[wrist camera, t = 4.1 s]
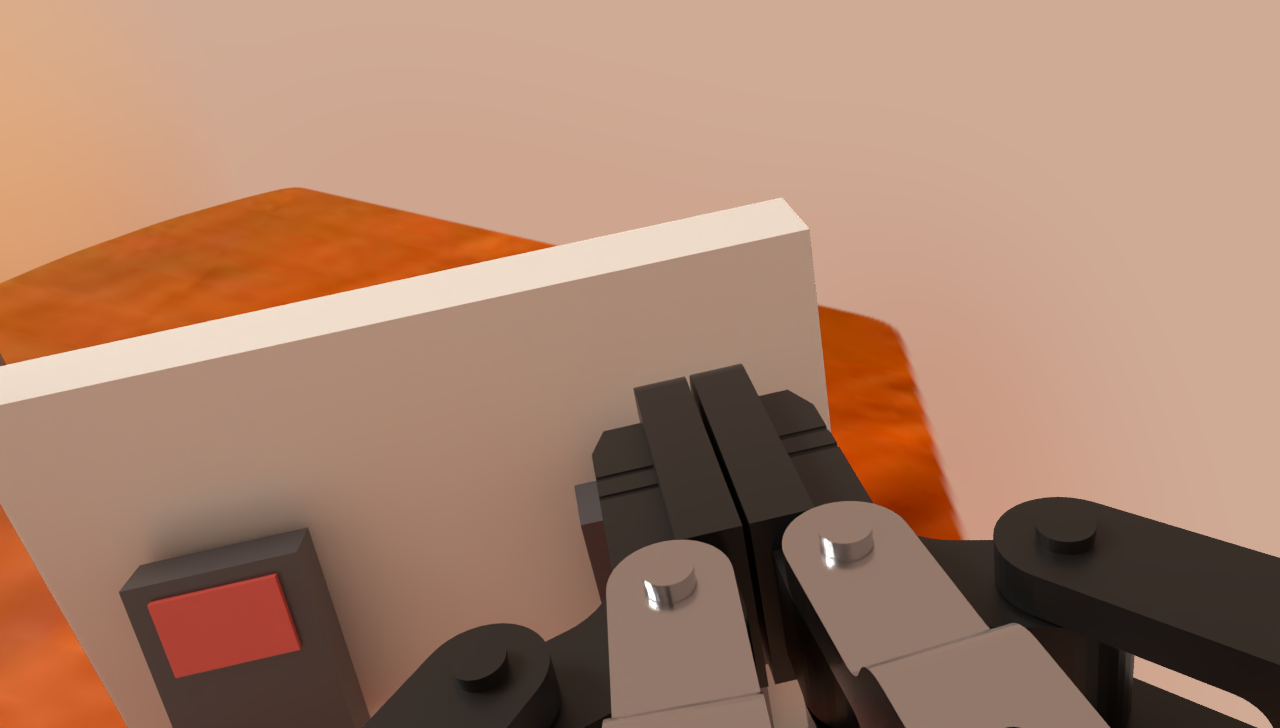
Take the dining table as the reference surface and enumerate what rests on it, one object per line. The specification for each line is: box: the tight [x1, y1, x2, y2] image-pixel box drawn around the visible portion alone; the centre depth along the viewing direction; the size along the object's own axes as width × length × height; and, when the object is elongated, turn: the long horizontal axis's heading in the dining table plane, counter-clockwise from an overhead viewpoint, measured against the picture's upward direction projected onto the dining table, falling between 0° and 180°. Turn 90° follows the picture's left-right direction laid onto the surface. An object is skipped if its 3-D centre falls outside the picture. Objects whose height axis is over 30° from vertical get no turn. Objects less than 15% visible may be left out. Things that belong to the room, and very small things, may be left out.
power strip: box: [0, 198, 831, 728], centre depth 35 cm, size 10×25×20 cm, turn 98°
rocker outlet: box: [119, 528, 371, 728], centre depth 30 cm, size 2×5×8 cm, turn 98°
